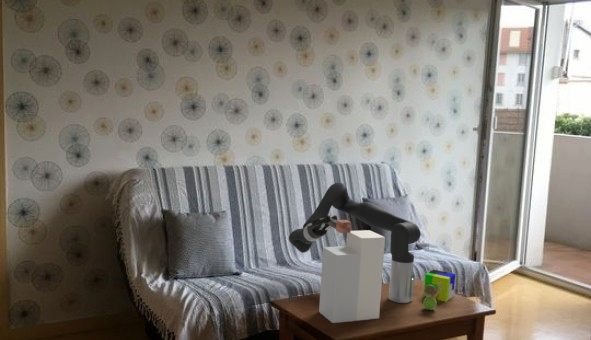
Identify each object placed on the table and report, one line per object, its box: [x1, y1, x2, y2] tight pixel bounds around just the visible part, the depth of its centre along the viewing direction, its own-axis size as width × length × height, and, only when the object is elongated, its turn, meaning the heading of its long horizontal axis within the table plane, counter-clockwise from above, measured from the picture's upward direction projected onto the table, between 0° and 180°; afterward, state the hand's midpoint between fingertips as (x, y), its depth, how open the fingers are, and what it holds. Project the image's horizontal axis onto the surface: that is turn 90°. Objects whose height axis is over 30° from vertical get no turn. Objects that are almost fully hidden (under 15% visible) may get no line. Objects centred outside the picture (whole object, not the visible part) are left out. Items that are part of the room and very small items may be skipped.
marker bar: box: [326, 216, 352, 234], centre depth 240 cm, size 4×16×4 cm, turn 23°
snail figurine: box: [422, 282, 441, 311], centre depth 251 cm, size 5×6×12 cm
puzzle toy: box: [423, 269, 456, 302], centre depth 270 cm, size 10×10×10 cm
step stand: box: [318, 229, 386, 324], centre depth 239 cm, size 20×12×32 cm, turn 113°
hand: (332, 217), depth 243 cm, fingers closed on marker bar, 2 cm apart
